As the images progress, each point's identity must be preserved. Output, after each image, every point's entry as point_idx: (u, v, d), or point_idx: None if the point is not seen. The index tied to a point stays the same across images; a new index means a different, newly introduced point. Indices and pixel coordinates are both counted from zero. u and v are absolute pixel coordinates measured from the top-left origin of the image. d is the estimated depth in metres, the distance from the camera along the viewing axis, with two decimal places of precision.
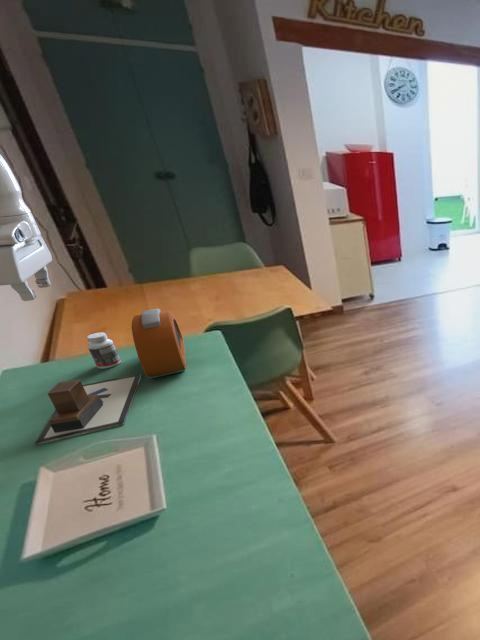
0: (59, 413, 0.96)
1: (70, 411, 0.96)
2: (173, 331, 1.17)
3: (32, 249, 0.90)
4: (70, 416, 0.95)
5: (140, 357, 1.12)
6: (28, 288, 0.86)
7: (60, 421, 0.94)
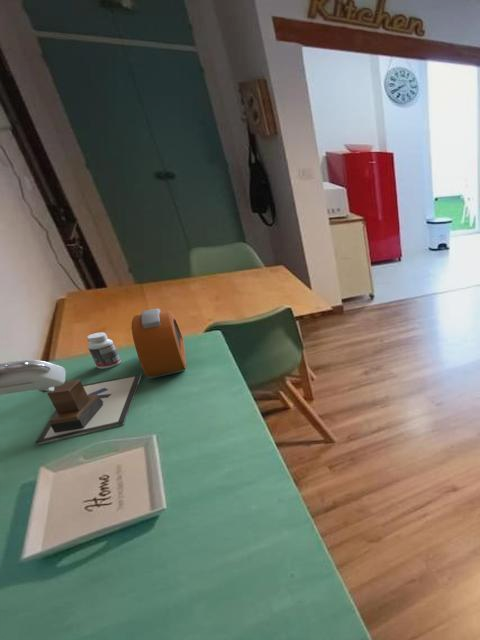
0: (59, 413, 0.96)
1: (70, 411, 0.96)
2: (173, 331, 1.17)
3: None
4: (70, 416, 0.95)
5: (140, 357, 1.12)
6: None
7: (60, 421, 0.94)
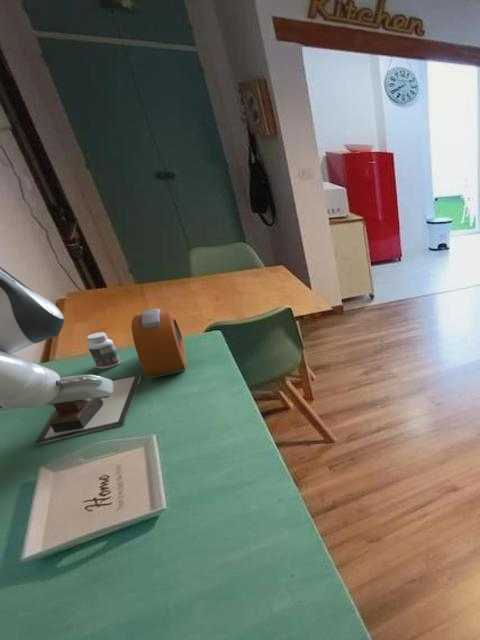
0: (59, 413, 0.96)
1: (70, 411, 0.96)
2: (173, 331, 1.17)
3: (59, 396, 0.91)
4: (70, 416, 0.95)
5: (140, 357, 1.12)
6: None
7: (60, 421, 0.94)
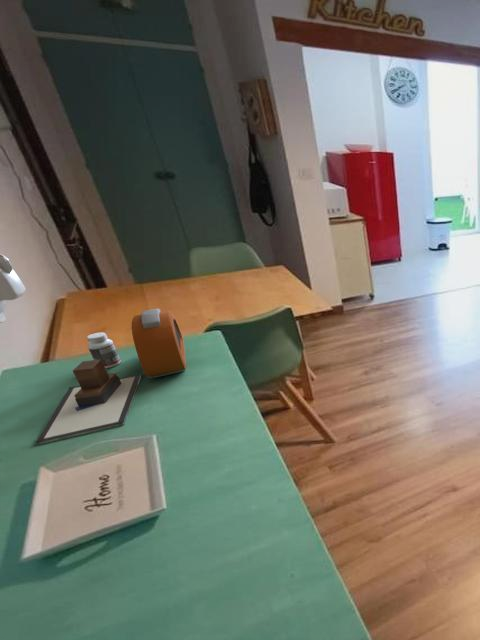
0: (83, 389, 1.05)
1: (93, 387, 1.05)
2: (173, 331, 1.17)
3: None
4: (93, 391, 1.04)
5: (140, 357, 1.12)
6: None
7: (84, 396, 1.03)
